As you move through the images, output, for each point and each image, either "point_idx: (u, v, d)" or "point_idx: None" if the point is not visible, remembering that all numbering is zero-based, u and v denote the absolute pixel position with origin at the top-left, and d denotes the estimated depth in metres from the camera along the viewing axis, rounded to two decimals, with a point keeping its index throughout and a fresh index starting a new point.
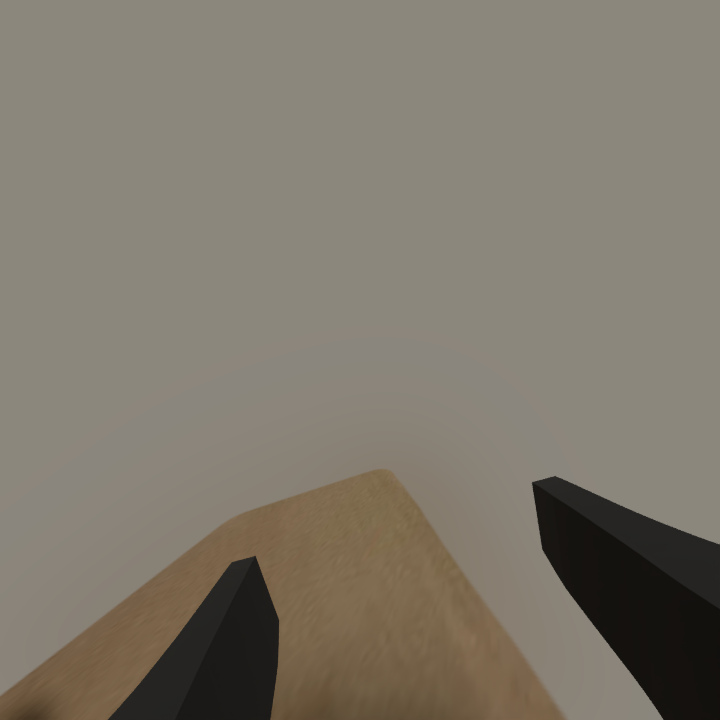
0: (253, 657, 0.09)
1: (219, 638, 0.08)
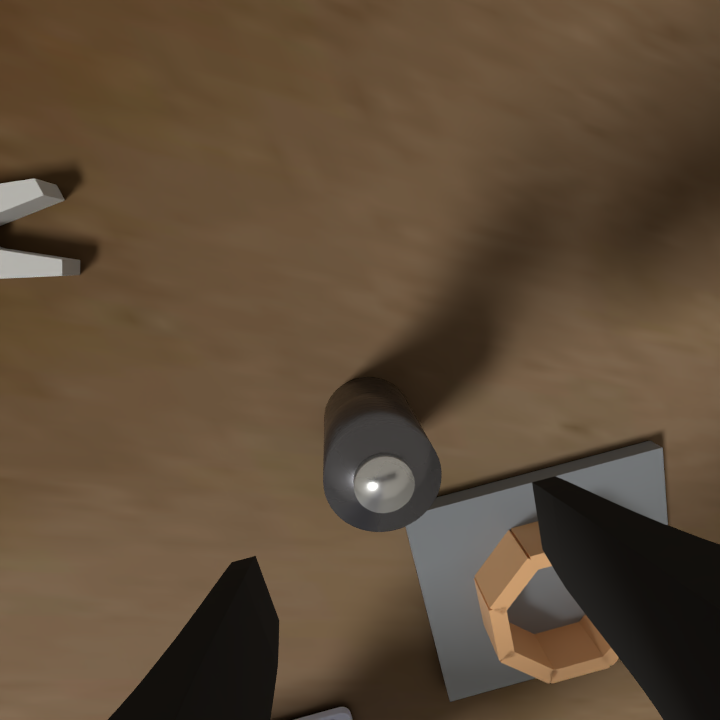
0: (253, 657, 0.09)
1: (219, 638, 0.08)
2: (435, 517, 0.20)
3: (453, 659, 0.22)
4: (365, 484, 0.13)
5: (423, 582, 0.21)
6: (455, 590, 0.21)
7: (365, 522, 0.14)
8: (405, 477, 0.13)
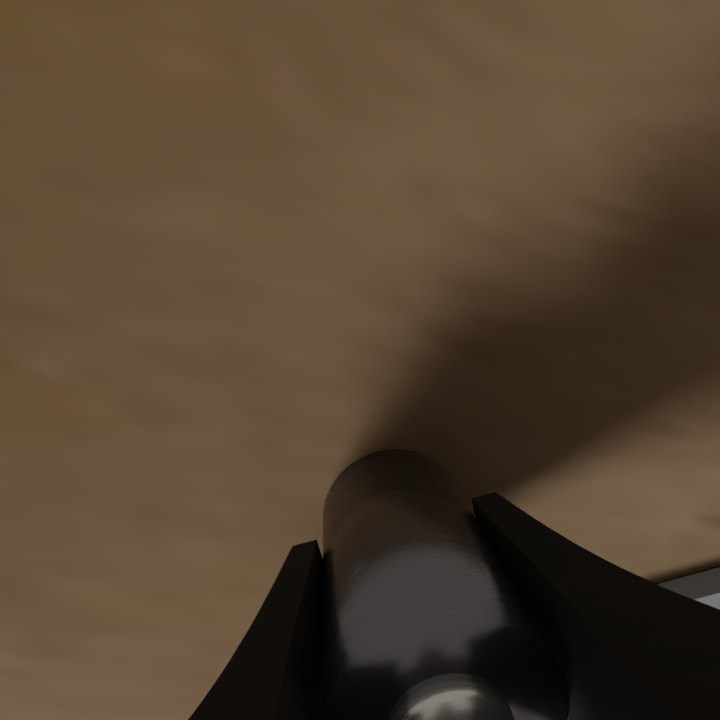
0: None
1: (300, 616, 0.08)
2: None
3: None
4: None
5: None
6: None
7: None
8: None
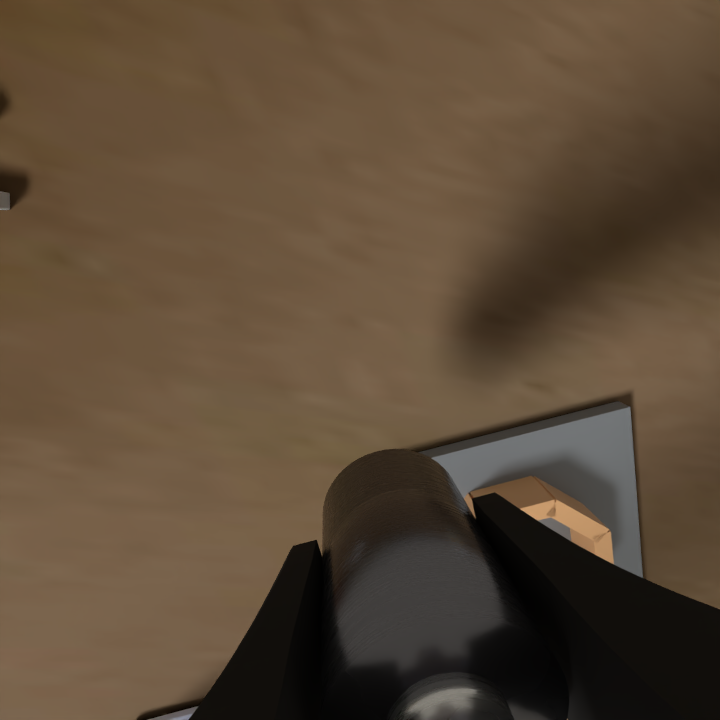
0: None
1: (300, 616, 0.08)
2: None
3: None
4: None
5: None
6: None
7: None
8: None
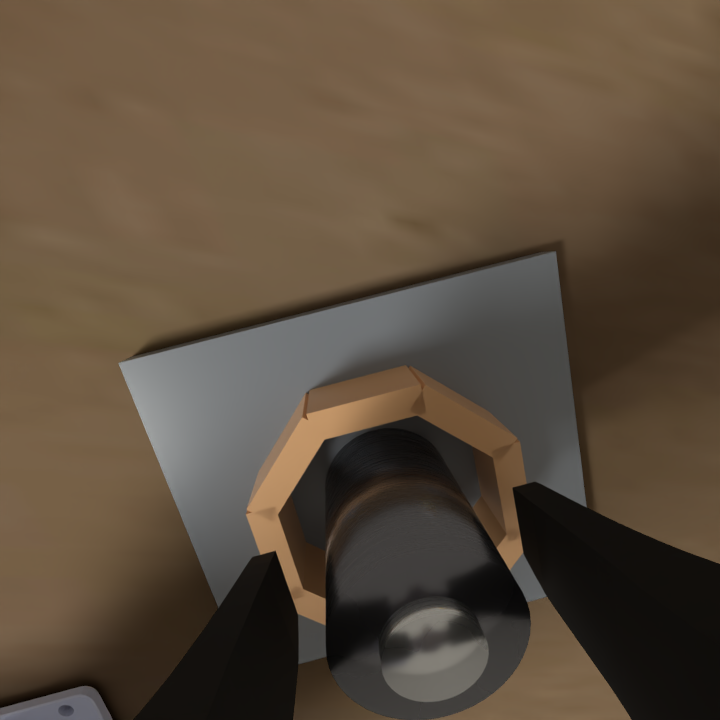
0: (277, 650, 0.09)
1: (246, 631, 0.08)
2: (175, 366, 0.12)
3: None
4: (401, 658, 0.07)
5: (172, 481, 0.13)
6: (229, 496, 0.13)
7: (398, 706, 0.08)
8: (472, 644, 0.08)
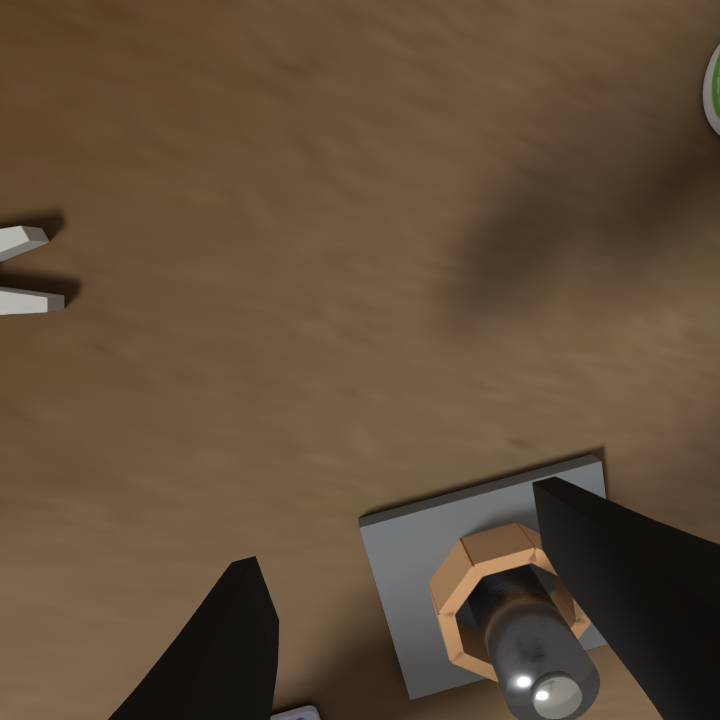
0: (253, 657, 0.09)
1: (219, 638, 0.08)
2: (389, 528, 0.21)
3: (412, 660, 0.23)
4: (543, 699, 0.17)
5: (380, 588, 0.22)
6: (411, 595, 0.22)
7: None
8: (575, 694, 0.17)
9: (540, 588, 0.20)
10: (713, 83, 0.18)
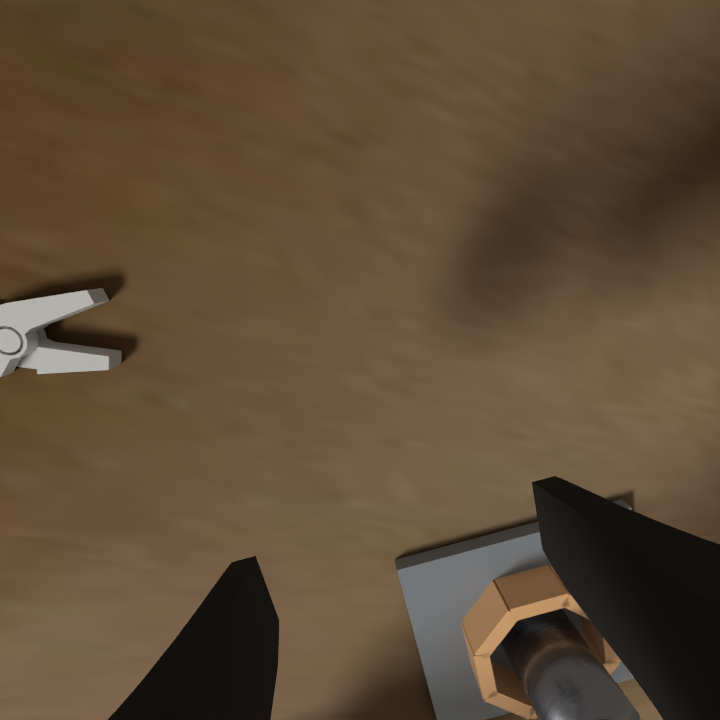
0: (253, 657, 0.09)
1: (219, 638, 0.08)
2: (426, 570, 0.22)
3: (443, 694, 0.24)
4: None
5: (415, 627, 0.23)
6: (444, 634, 0.23)
7: None
8: None
9: (576, 631, 0.21)
10: None
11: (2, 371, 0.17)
